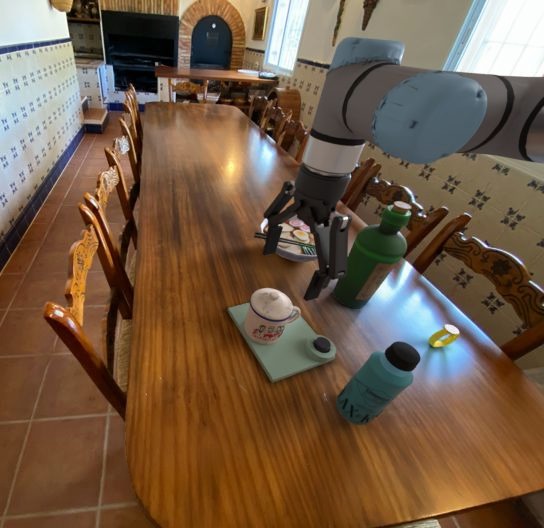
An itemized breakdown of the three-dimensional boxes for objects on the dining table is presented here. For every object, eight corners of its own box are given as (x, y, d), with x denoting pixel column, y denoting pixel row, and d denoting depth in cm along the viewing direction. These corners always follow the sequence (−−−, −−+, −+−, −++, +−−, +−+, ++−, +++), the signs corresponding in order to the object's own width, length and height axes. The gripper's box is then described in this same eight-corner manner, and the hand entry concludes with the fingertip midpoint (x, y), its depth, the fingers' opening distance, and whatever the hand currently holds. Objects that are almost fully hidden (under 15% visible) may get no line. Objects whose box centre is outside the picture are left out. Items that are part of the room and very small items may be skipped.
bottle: (371, 317, 75) (437, 223, 57) (327, 304, 77) (377, 210, 60) (368, 290, 83) (425, 200, 65) (328, 279, 85) (372, 189, 68)
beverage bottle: (329, 391, 59) (376, 328, 46) (364, 399, 58) (421, 337, 45) (334, 425, 54) (389, 365, 41) (373, 434, 53) (440, 376, 40)
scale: (336, 361, 64) (342, 353, 62) (273, 385, 59) (276, 377, 57) (282, 296, 79) (285, 288, 77) (227, 311, 73) (229, 302, 71)
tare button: (331, 350, 63) (333, 346, 62) (320, 354, 62) (322, 350, 61) (321, 339, 65) (324, 335, 64) (310, 343, 64) (313, 338, 63)
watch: (442, 338, 71) (458, 322, 68) (452, 348, 69) (469, 332, 65) (421, 341, 70) (436, 325, 67) (430, 351, 68) (446, 335, 64)
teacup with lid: (248, 347, 64) (259, 311, 57) (238, 315, 71) (247, 279, 64) (300, 344, 66) (318, 309, 58) (286, 313, 72) (300, 278, 65)
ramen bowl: (329, 241, 101) (338, 220, 96) (334, 284, 84) (346, 262, 79) (256, 225, 105) (261, 205, 100) (247, 264, 88) (252, 241, 83)
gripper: (418, 202, 37) (349, 316, 50) (295, 140, 54) (268, 236, 68) (374, 210, 34) (314, 327, 48) (260, 142, 52) (240, 241, 65)
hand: (287, 274), depth 58 cm, fingers open, 13 cm apart
